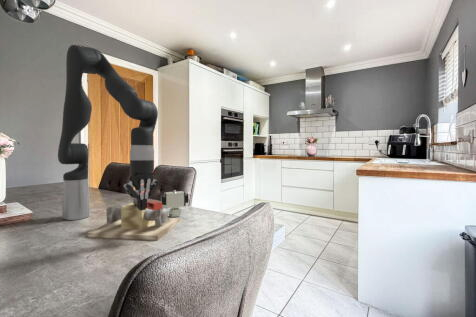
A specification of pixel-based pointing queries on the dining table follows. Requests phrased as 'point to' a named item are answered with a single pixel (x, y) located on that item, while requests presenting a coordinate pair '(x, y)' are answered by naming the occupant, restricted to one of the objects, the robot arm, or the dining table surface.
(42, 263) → the dining table surface
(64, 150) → the robot arm
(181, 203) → the pneumatic valve
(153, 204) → the valve lever
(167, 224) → the valve base
